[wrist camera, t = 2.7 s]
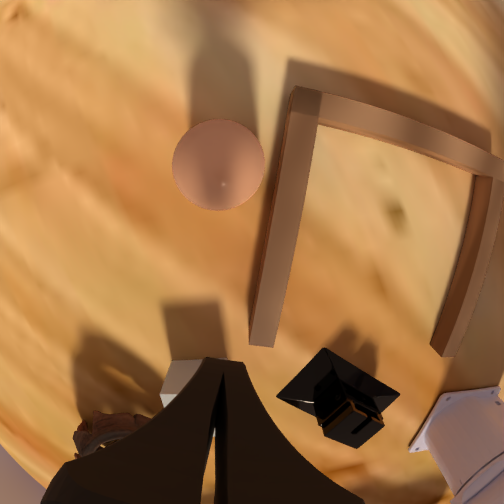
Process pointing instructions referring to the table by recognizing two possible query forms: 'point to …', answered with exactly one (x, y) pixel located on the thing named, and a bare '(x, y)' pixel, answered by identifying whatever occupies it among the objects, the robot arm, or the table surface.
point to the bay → (397, 133)
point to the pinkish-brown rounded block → (218, 164)
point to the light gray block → (178, 378)
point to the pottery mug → (105, 431)
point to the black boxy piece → (340, 398)
